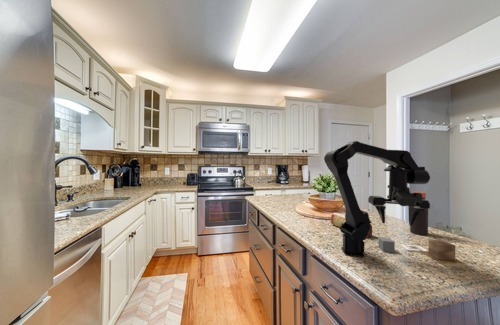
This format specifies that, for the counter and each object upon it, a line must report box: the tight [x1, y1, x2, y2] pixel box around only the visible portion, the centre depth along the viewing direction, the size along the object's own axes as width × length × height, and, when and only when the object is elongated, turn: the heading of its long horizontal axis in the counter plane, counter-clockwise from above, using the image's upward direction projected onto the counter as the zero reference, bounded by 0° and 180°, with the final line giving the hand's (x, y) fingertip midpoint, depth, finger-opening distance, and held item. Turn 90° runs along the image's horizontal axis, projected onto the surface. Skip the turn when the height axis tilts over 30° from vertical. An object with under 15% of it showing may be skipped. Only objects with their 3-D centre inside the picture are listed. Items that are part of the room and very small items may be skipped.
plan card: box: [399, 243, 428, 253], centre depth 80 cm, size 7×5×1 cm
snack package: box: [330, 212, 373, 238], centre depth 103 cm, size 21×7×7 cm, turn 21°
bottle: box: [409, 191, 429, 236], centre depth 99 cm, size 7×7×20 cm
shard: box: [419, 250, 467, 268], centre depth 72 cm, size 11×8×2 cm
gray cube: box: [377, 237, 396, 253], centre depth 79 cm, size 4×4×4 cm
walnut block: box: [427, 238, 456, 261], centre depth 71 cm, size 5×5×5 cm
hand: (396, 224), depth 77 cm, fingers open, 9 cm apart
